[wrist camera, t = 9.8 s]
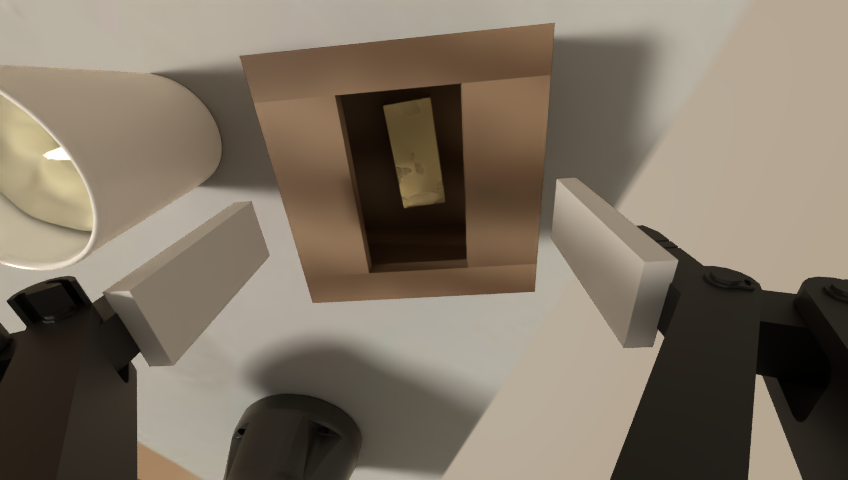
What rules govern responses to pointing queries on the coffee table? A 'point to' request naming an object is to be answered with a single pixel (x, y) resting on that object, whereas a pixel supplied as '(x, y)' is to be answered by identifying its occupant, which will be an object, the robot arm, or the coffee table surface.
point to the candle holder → (92, 158)
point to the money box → (375, 168)
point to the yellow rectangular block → (415, 150)
